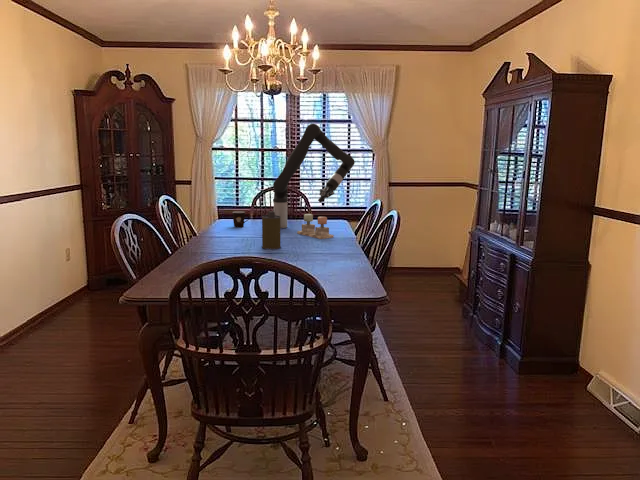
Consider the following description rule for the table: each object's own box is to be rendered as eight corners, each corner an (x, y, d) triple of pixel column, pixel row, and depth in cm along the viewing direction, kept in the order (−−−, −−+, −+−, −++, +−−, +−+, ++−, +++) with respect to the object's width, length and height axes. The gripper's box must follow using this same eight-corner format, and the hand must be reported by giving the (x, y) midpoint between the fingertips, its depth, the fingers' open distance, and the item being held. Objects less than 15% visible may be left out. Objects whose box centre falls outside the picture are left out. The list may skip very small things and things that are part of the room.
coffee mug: (230, 227, 353) (230, 212, 351) (235, 225, 361) (235, 211, 359) (246, 228, 350) (245, 213, 348) (251, 226, 358) (251, 211, 356)
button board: (297, 233, 333) (297, 224, 332) (309, 231, 339) (309, 222, 338) (320, 239, 314) (320, 229, 313) (333, 237, 321) (333, 227, 320)
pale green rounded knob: (302, 225, 331) (302, 214, 330) (309, 224, 335) (309, 213, 334) (307, 226, 327) (307, 215, 326) (314, 225, 331) (314, 214, 329)
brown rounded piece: (315, 228, 321) (315, 217, 320) (322, 227, 324) (323, 216, 323) (321, 229, 316) (321, 218, 315) (328, 228, 320) (328, 217, 319)
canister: (283, 248, 285) (283, 212, 281) (264, 250, 281) (264, 213, 277) (277, 245, 294) (277, 210, 291) (259, 246, 291) (259, 210, 287)
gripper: (324, 177, 342) (310, 196, 337) (338, 178, 332) (322, 198, 327) (330, 184, 346) (316, 204, 341) (344, 186, 336) (329, 206, 331)
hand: (319, 201), depth 334 cm, fingers closed
